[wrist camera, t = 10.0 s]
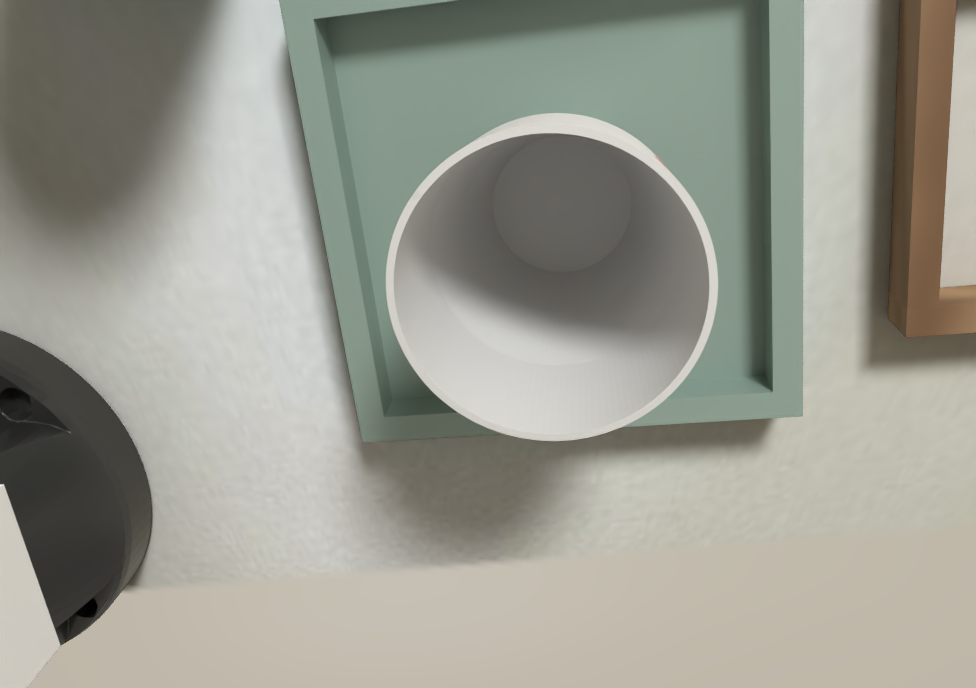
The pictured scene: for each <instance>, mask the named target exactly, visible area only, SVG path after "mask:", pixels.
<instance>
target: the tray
mask: <svg viewBox="0 0 976 688" xmlns="http://www.w3.org/2000/svg"><path fill="white" fill-rule="evenodd" d="M279 3H280V8H281V13H282V19H283V24H284V29H285V35H286V40H287V45H288V51H289V56H290V61H291V66H292V72H293V77H294V82H295V88H296V93H297V98H298V104H299V109H300V114H301V119H302V125H303V130H304V135H305V141H306V146H307V151H308V157H309V162H310V167H311V172H312V178H313V183H314V188H315V194H316V199H317V204H318V210H319V215H320V220H321V225H322V231H323V236H324V241H325V247H326V252H327V257H328V263H329V268H330V273H331V279H332V284H333V289H334V294H335V300H336V305H337V310H338V316H339V321H340V326H341V332H342V337H343V342H344V347H345V353H346V358H347V363H348V369H349V374H350V379H351V385H352V390H353V395H354V400H355V406H356V411H357V416H358V422H359V427H360V432H361V438H362V443H367V442H383V441H400V440H417V439H433V438H450V437H467V436H483V435H500V434H503V433H500V432H497V431H494V430H491V429H489V428H486V427H484V426H482V425H480V424H477V423H475V422H473V421H472V420H470V419H468V418H466V417H465V416H463V415H461V414H460V413H458V412H457V411H455V410H454V409H452V408H451V407H450V406H448V405H447V404H446V403H445V402H443V401H442V400H441V399H440V398H439V397H438V396H437V395H435V394H434V393H433V392H432V391H431V390H430V389H429V388H428V386H427V385H426V384H425V383H424V382H423V381H422V380H421V378H420V377H419V376H418V374H417V373H416V372H415V370H414V369H413V367H412V366H411V364H410V363H409V361H408V360H407V358H406V356H405V354H404V352H403V351H402V348H401V346H400V344H399V342H398V340H397V337H396V335H395V332H394V329H393V326H392V322H391V319H390V315H389V310H388V304H387V296H386V266H387V258H388V252H389V248H390V244H391V240H392V236H393V233H394V230H395V228H396V225H397V223H398V220H399V218H400V216H401V214H402V212H403V210H404V208H405V206H406V205H407V203H408V201H409V200H410V198H411V197H412V195H413V194H414V192H415V191H416V189H417V188H418V187H419V186H420V184H421V183H422V182H423V181H424V180H425V179H426V177H427V176H428V175H429V174H430V173H431V172H432V171H433V170H434V169H435V168H437V167H438V166H439V165H440V164H441V163H442V162H443V161H445V160H446V159H447V158H449V157H450V156H451V155H453V154H454V153H456V152H457V151H459V150H460V149H462V148H463V147H465V146H466V145H468V144H470V143H471V142H473V141H474V140H476V139H477V138H479V137H481V136H482V135H484V134H485V133H487V132H489V131H490V130H492V129H494V128H496V127H498V126H500V125H502V124H505V123H507V122H510V121H513V120H516V119H519V118H523V117H527V116H532V115H538V114H546V113H568V114H577V115H583V116H587V117H592V118H595V119H599V120H602V121H604V122H607V123H610V124H612V125H614V126H616V127H618V128H620V129H622V130H624V131H626V132H627V133H629V134H631V135H632V136H634V137H635V138H636V139H638V140H639V141H640V142H642V143H643V144H644V145H645V146H646V147H648V148H649V149H650V150H651V151H652V152H653V153H654V154H655V155H656V156H657V157H658V158H659V160H660V161H661V162H662V163H663V164H664V165H665V166H666V167H667V169H668V170H669V171H670V172H671V173H672V174H673V175H674V176H675V178H676V179H677V180H678V181H679V182H680V183H681V185H682V186H683V187H684V188H685V190H686V191H687V192H688V194H689V195H690V196H691V198H692V199H693V201H694V202H695V204H696V206H697V208H698V209H699V211H700V213H701V215H702V217H703V219H704V221H705V223H706V226H707V228H708V231H709V234H710V237H711V240H712V243H713V247H714V252H715V256H716V262H717V271H718V297H717V305H716V312H715V317H714V321H713V325H712V328H711V331H710V334H709V337H708V340H707V342H706V344H705V347H704V349H703V351H702V353H701V355H700V357H699V358H698V360H697V362H696V364H695V365H694V367H693V368H692V370H691V371H690V373H689V374H688V375H687V377H686V378H685V379H684V380H683V382H682V383H681V384H680V385H679V386H678V387H677V388H676V390H675V391H674V392H673V393H672V394H671V395H670V396H668V397H667V398H666V399H665V400H664V401H663V402H662V403H660V404H659V405H658V406H657V407H655V408H654V409H653V410H651V411H650V412H648V413H647V414H645V415H644V416H642V417H640V418H639V419H637V420H635V421H633V422H631V423H629V424H627V425H625V426H623V427H633V426H650V425H667V424H683V423H700V422H717V421H733V420H750V419H767V418H783V417H800V416H803V116H804V0H279Z"/></svg>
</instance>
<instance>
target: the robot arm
mask: <svg viewBox="0 0 976 688" xmlns="http://www.w3.org/2000/svg"><path fill="white" fill-rule="evenodd" d="M150 530H151V497H150V491H149V485H148V481H147V477H146V473H145V470H144V467H143V464H142V461H141V459H140V456H139V454H138V452H137V449H136V447H135V445H134V443H133V441H132V439H131V437H130V436H129V434H128V432H127V431H126V429H125V427H124V426H123V424H122V423H121V421H120V420H119V418H118V417H117V415H116V414H115V413H114V411H113V410H112V409H111V407H110V406H109V405H108V404H107V403H106V401H105V400H104V399H103V398H102V397H101V396H100V395H99V393H98V392H97V391H96V390H95V389H94V388H93V387H92V386H91V385H90V384H89V383H87V382H86V381H85V380H84V379H83V378H82V377H81V376H80V375H79V374H77V373H76V372H75V371H74V370H72V369H71V368H70V367H69V366H67V365H66V364H64V363H63V362H62V361H60V360H59V359H57V358H56V357H54V356H53V355H51V354H49V353H48V352H46V351H45V350H43V349H41V348H39V347H37V346H36V345H34V344H32V343H30V342H28V341H25V340H23V339H21V338H19V337H17V336H14V335H11V334H9V333H6V332H3V331H0V688H27V687H28V686H29V685H30V683H31V682H32V681H33V680H34V678H35V677H36V676H37V675H38V673H39V672H40V671H41V670H42V669H43V667H44V666H45V665H46V663H47V662H48V661H49V660H50V659H51V657H52V656H53V655H54V654H55V652H56V651H57V650H58V649H59V648H60V646H61V645H62V644H64V643H66V642H67V641H69V640H71V639H72V638H74V637H76V636H77V635H79V634H80V633H81V632H83V631H84V630H86V629H87V628H88V627H89V626H91V624H93V623H94V622H95V621H96V620H97V619H99V618H100V617H101V615H103V613H104V612H105V611H106V610H107V609H108V608H109V607H110V605H111V604H112V603H113V602H114V600H115V599H116V598H117V597H118V595H119V594H120V593H121V591H122V590H123V589H124V588H125V586H126V585H127V584H128V583H129V581H130V580H131V579H132V577H133V576H134V574H135V573H136V571H137V569H138V568H139V566H140V564H141V562H142V559H143V557H144V554H145V552H146V548H147V545H148V541H149V536H150Z"/></svg>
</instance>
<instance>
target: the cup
mask: <svg viewBox="0 0 976 688" xmlns="http://www.w3.org/2000/svg"><path fill="white" fill-rule="evenodd" d="M386 296H387V304H388V310H389V315H390V319H391V322H392V326H393V329H394V332H395V335H396V337H397V340H398V342H399V344H400V346H401V348H402V351H403V352H404V354H405V356H406V358H407V360H408V361H409V363H410V364H411V366H412V367H413V369H414V370H415V372H416V373H417V374H418V376H419V377H420V378H421V380H422V381H423V382H424V383H425V384H426V385H427V386H428V388H429V389H430V390H431V391H432V392H433V393H434V394H435V395H437V396H438V397H439V398H440V399H441V400H442V401H443V402H445V403H446V404H447V405H448V406H450V407H451V408H452V409H454V410H455V411H457V412H458V413H460V414H461V415H463V416H465V417H466V418H468V419H470V420H472V421H473V422H475V423H477V424H480V425H482V426H484V427H486V428H489V429H491V430H494V431H497V432H500V433H503V434H506V435H510V436H514V437H519V438H524V439H531V440H540V441H566V440H576V439H583V438H588V437H593V436H597V435H601V434H604V433H607V432H610V431H613V430H616V429H618V428H620V427H623V426H625V425H627V424H629V423H631V422H633V421H635V420H637V419H639V418H640V417H642V416H644V415H645V414H647V413H648V412H650V411H651V410H653V409H654V408H655V407H657V406H658V405H659V404H660V403H662V402H663V401H664V400H665V399H666V398H667V397H668V396H670V395H671V394H672V393H673V392H674V391H675V390H676V388H677V387H678V386H679V385H680V384H681V383H682V382H683V380H684V379H685V378H686V377H687V375H688V374H689V373H690V371H691V370H692V368H693V367H694V365H695V364H696V362H697V360H698V358H699V357H700V355H701V353H702V351H703V349H704V347H705V344H706V342H707V340H708V337H709V334H710V331H711V328H712V325H713V321H714V317H715V312H716V305H717V297H718V271H717V262H716V256H715V252H714V247H713V243H712V240H711V237H710V234H709V231H708V228H707V226H706V223H705V221H704V219H703V217H702V215H701V213H700V211H699V209H698V208H697V206H696V204H695V202H694V201H693V199H692V198H691V196H690V195H689V194H688V192H687V191H686V190H685V188H684V187H683V186H682V185H681V183H680V182H679V181H678V180H677V179H676V178H675V176H674V175H673V174H672V173H671V172H670V171H669V170H668V169H667V167H666V166H665V165H664V164H663V163H662V162H661V161H660V160H659V158H658V157H657V156H656V155H655V154H654V153H653V152H652V151H651V150H650V149H649V148H648V147H646V146H645V145H644V144H643V143H642V142H640V141H639V140H638V139H636V138H635V137H634V136H632V135H631V134H629V133H627V132H626V131H624V130H622V129H620V128H618V127H616V126H614V125H612V124H610V123H607V122H604V121H602V120H599V119H595V118H592V117H587V116H583V115H577V114H568V113H546V114H538V115H532V116H527V117H523V118H519V119H516V120H513V121H510V122H507V123H505V124H502V125H500V126H498V127H496V128H494V129H492V130H490V131H489V132H487V133H485V134H484V135H482V136H481V137H479V138H477V139H476V140H474V141H473V142H471V143H470V144H468V145H466V146H465V147H463V148H462V149H460V150H459V151H457V152H456V153H454V154H453V155H451V156H450V157H449V158H447V159H446V160H445V161H443V162H442V163H441V164H440V165H439V166H438V167H437V168H435V169H434V170H433V171H432V172H431V173H430V174H429V175H428V176H427V177H426V179H425V180H424V181H423V182H422V183H421V184H420V186H419V187H418V188H417V189H416V191H415V192H414V194H413V195H412V197H411V198H410V200H409V201H408V203H407V205H406V206H405V208H404V210H403V212H402V214H401V216H400V218H399V220H398V223H397V225H396V228H395V230H394V233H393V236H392V240H391V244H390V248H389V252H388V258H387V266H386Z"/></svg>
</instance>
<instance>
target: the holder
mask: <svg viewBox="0 0 976 688" xmlns="http://www.w3.org/2000/svg"><path fill="white" fill-rule="evenodd" d="M956 2H957V0H900V11H899V38H898V64H897V91H896V117H895V143H894V170H893V196H892V222H891V249H890V275H889V302H888V319H889V320H890V321H891V322H892V323H893V324H894V325H895V326H896V327H897V328H898V330H899V331H900V332H901V333H902V334H903V335H904V336H905V337H920V336H935V335H949V334H963V333H976V285H970V286H957V287H944V288H940V275H941V258H942V241H943V224H944V207H945V190H946V173H947V155H948V138H949V121H950V104H951V87H952V70H953V53H954V36H955V19H956Z"/></svg>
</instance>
